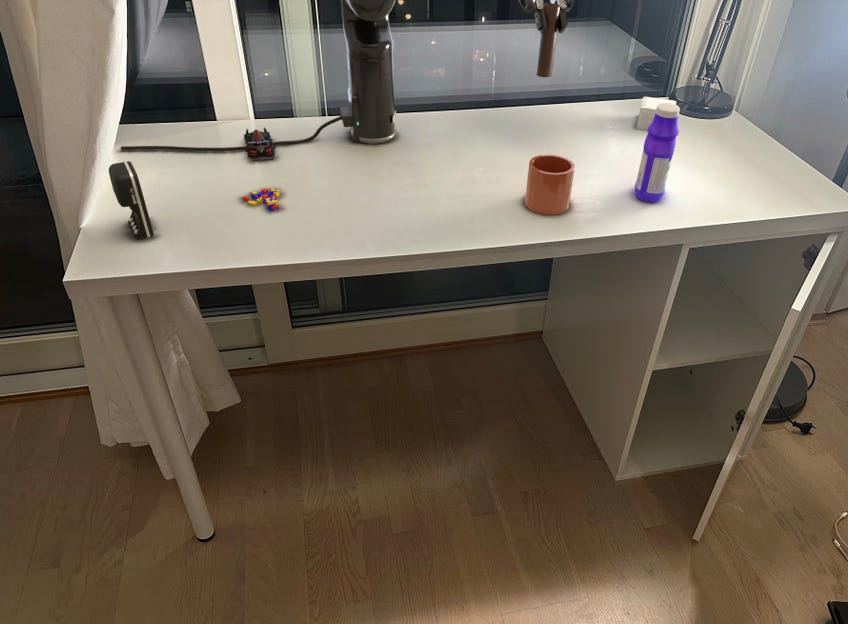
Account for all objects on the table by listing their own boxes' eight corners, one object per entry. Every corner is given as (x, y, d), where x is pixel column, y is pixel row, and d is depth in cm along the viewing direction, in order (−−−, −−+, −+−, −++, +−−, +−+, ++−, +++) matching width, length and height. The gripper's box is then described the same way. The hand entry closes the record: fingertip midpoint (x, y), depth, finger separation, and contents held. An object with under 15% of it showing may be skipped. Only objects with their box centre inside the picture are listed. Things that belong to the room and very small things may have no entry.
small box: (638, 117, 168) (643, 95, 165) (672, 122, 167) (677, 100, 163) (635, 129, 162) (640, 107, 159) (669, 134, 161) (675, 112, 158)
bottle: (663, 205, 134) (685, 115, 123) (632, 201, 134) (652, 111, 123) (662, 188, 139) (684, 101, 128) (633, 185, 140) (652, 97, 129)
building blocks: (274, 188, 132) (273, 180, 131) (290, 206, 127) (289, 198, 126) (240, 195, 129) (239, 187, 128) (255, 214, 124) (254, 206, 123)
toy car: (246, 162, 140) (243, 142, 137) (242, 138, 149) (238, 119, 146) (278, 159, 142) (275, 140, 139) (271, 135, 150) (268, 117, 147)
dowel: (538, 77, 142) (547, 7, 133) (533, 72, 144) (541, 3, 136) (553, 77, 142) (562, 7, 134) (548, 71, 145) (556, 3, 136)
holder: (533, 216, 128) (538, 176, 123) (519, 195, 134) (523, 156, 129) (575, 213, 130) (581, 172, 125) (559, 192, 136) (564, 153, 131)
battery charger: (123, 223, 120) (103, 160, 113) (146, 219, 122) (128, 156, 114) (131, 243, 116) (111, 178, 108) (155, 237, 117) (137, 174, 110)
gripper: (510, -68, 132) (524, 21, 131) (580, -67, 135) (594, 19, 134) (499, -42, 139) (513, 42, 138) (566, -42, 142) (579, 40, 141)
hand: (553, 30), depth 136 cm, fingers closed on dowel, 3 cm apart
